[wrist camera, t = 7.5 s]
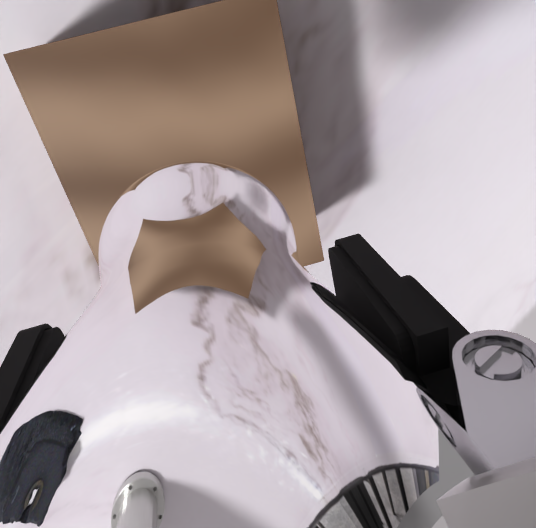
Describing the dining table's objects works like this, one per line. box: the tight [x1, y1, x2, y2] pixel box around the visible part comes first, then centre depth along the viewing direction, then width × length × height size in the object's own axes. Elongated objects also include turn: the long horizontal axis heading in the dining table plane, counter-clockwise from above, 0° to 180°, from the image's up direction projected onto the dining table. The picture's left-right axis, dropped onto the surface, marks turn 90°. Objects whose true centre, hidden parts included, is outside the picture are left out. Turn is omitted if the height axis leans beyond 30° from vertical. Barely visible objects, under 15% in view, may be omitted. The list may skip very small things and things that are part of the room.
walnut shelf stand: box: [3, 0, 324, 267], centre depth 26 cm, size 14×12×6 cm
